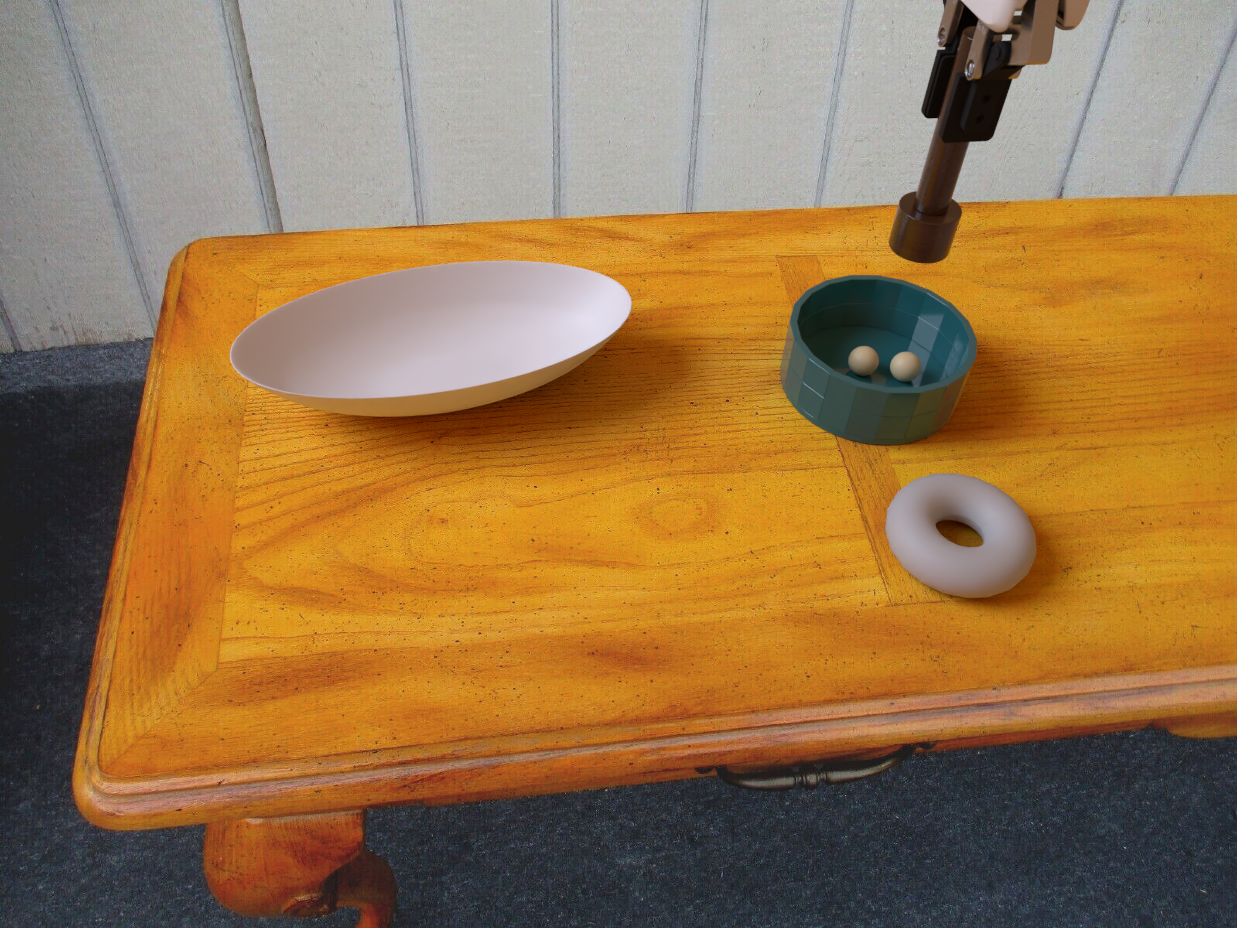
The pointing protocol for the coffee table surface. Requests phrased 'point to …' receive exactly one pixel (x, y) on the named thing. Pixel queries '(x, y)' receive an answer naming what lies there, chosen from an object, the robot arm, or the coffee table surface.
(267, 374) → the bowl
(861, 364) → the chickpea
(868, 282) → the mixing bowl
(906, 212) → the muddler
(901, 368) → the chickpea
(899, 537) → the donut
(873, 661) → the coffee table surface
